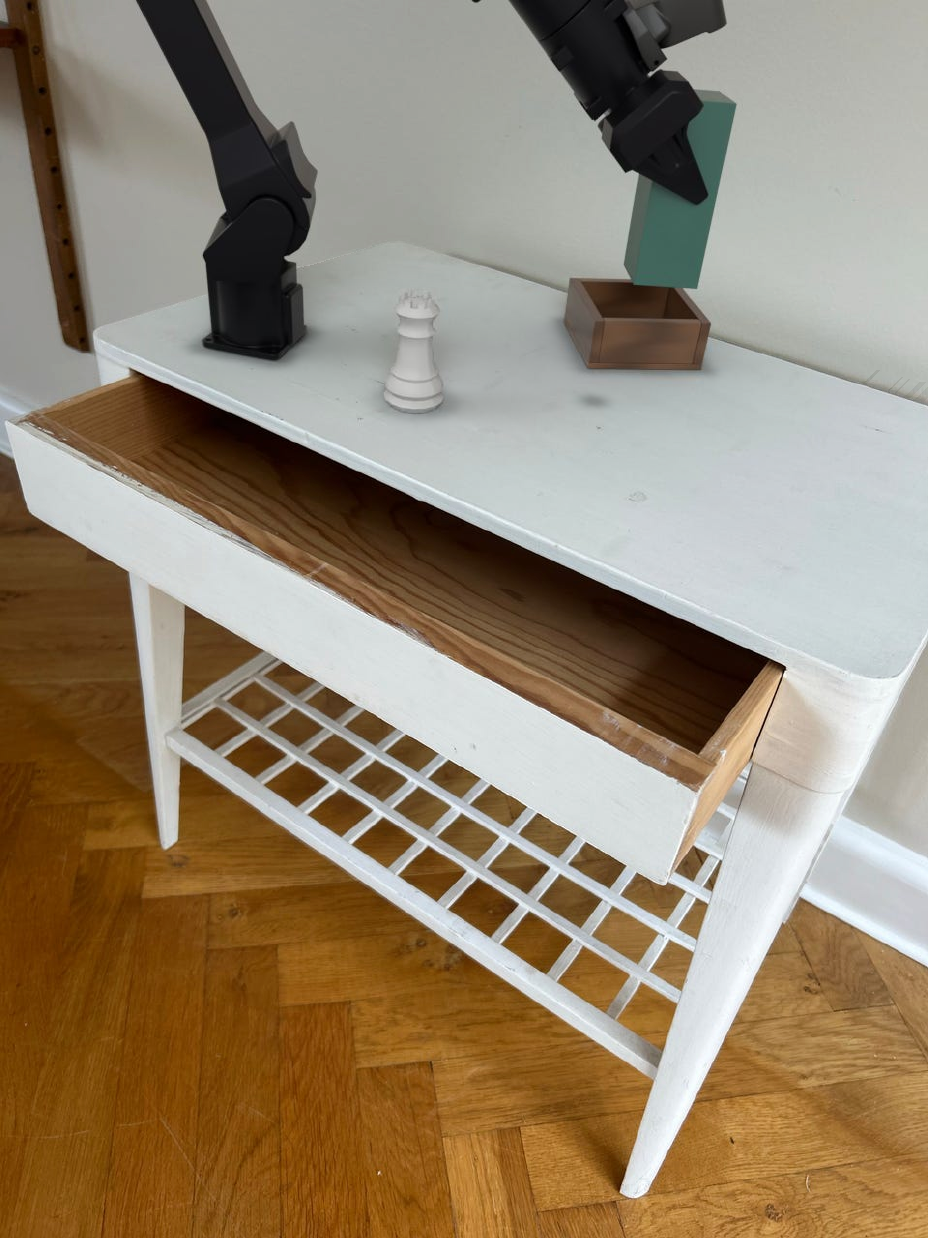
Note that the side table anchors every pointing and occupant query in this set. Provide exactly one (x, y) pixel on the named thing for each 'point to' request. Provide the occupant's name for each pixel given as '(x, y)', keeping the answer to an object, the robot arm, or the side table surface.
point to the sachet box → (680, 207)
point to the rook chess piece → (415, 356)
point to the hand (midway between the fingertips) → (694, 189)
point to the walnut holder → (635, 325)
